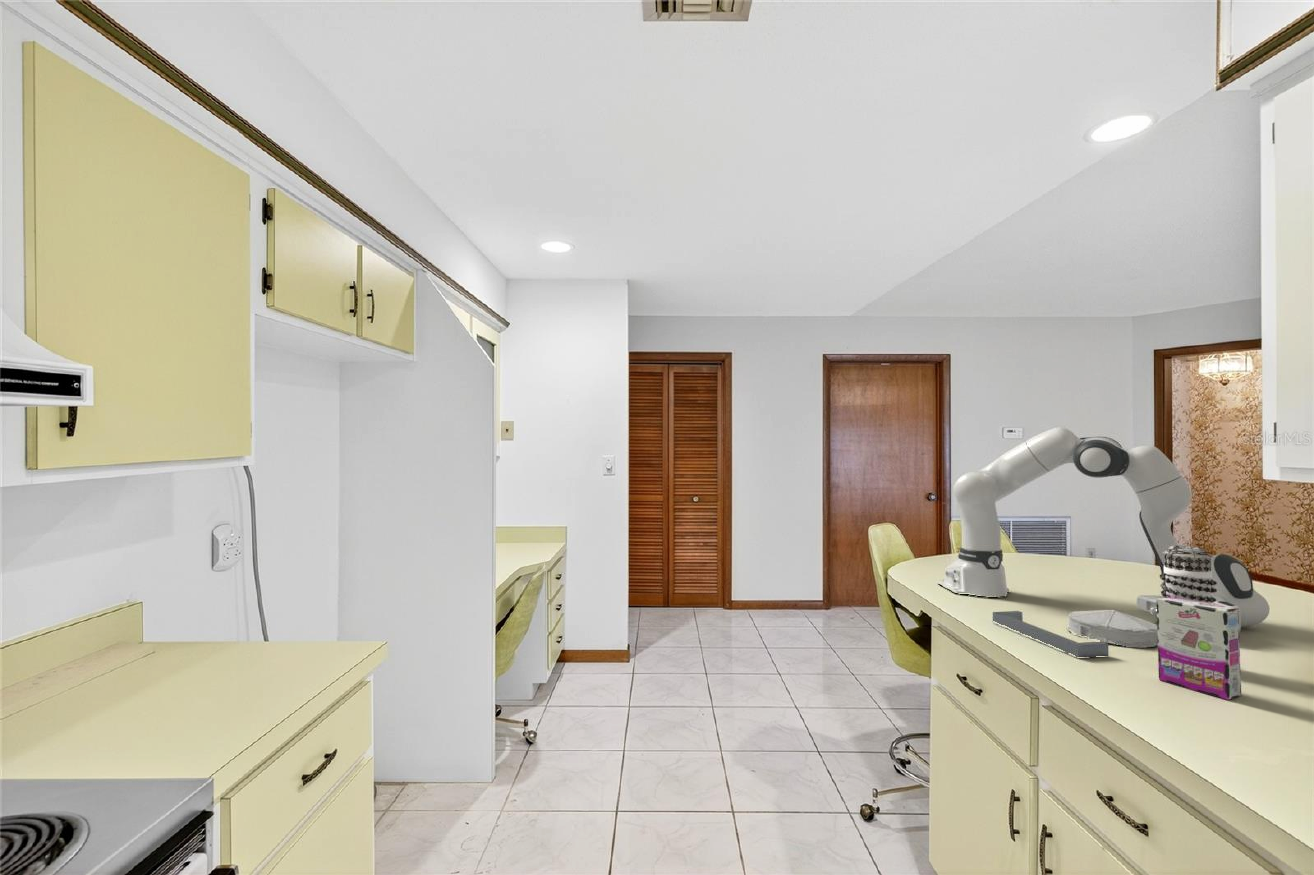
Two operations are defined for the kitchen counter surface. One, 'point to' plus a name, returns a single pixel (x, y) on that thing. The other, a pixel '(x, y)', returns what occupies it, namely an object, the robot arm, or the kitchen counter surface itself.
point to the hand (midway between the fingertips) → (1155, 612)
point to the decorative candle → (1188, 574)
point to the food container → (1114, 628)
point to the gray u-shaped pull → (1050, 636)
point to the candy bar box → (1199, 646)
